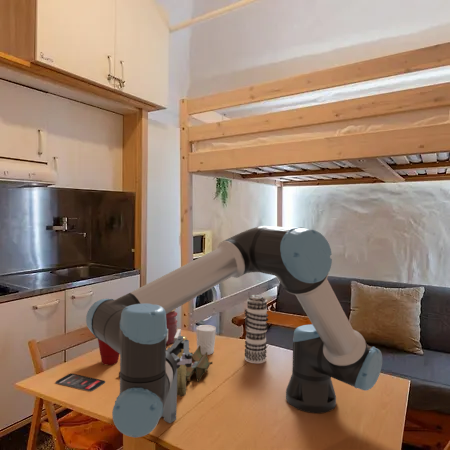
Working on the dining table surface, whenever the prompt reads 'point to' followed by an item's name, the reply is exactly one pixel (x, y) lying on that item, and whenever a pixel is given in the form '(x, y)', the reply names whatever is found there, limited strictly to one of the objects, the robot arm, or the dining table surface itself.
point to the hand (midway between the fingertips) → (172, 334)
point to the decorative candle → (256, 329)
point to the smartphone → (80, 382)
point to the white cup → (206, 338)
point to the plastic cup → (107, 354)
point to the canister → (171, 326)
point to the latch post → (181, 376)
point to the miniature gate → (197, 365)
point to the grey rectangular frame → (171, 402)
